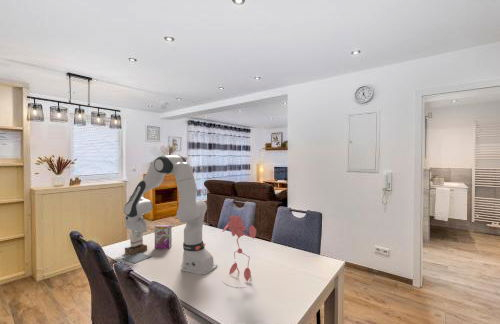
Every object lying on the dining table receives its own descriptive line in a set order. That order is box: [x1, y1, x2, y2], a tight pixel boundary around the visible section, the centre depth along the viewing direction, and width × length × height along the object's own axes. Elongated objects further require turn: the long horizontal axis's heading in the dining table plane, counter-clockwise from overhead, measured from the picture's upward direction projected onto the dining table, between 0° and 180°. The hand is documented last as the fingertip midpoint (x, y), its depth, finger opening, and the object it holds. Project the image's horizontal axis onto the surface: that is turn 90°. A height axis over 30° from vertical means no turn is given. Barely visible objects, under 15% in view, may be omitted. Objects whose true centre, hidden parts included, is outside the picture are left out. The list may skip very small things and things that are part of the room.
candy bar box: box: [154, 224, 173, 250], centre depth 174 cm, size 11×5×16 cm, turn 84°
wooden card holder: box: [124, 243, 148, 256], centre depth 167 cm, size 8×12×4 cm
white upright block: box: [129, 231, 144, 247], centre depth 166 cm, size 4×7×9 cm, turn 148°
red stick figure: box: [222, 214, 257, 289], centre depth 127 cm, size 15×26×35 cm, turn 49°
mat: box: [121, 252, 152, 264], centre depth 156 cm, size 14×12×1 cm
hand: (136, 236), depth 166 cm, fingers closed on white upright block, 3 cm apart
